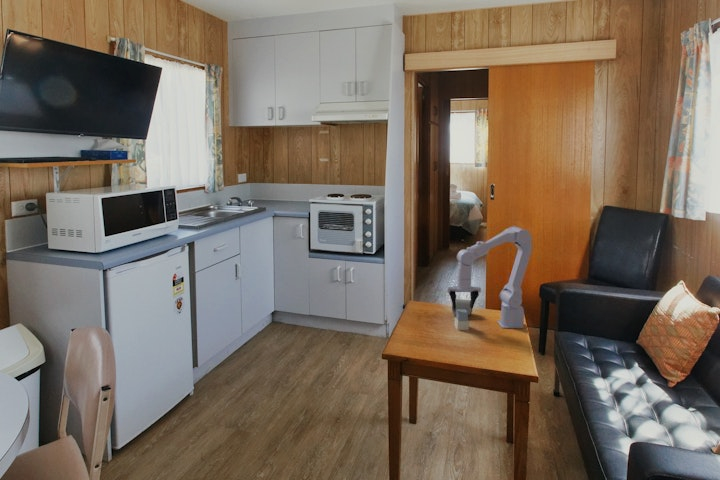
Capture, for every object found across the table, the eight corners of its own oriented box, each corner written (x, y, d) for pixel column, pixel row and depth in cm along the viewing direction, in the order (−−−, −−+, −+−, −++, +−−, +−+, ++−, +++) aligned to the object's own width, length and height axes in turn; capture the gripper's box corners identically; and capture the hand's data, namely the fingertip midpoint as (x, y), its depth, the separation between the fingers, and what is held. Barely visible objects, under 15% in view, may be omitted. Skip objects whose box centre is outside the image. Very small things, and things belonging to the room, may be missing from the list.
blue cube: (465, 317, 224) (465, 309, 223) (467, 321, 220) (467, 312, 220) (456, 317, 224) (456, 309, 223) (458, 321, 220) (458, 312, 219)
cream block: (465, 325, 226) (465, 317, 225) (468, 330, 221) (469, 321, 220) (454, 326, 225) (454, 317, 225) (457, 330, 221) (457, 321, 220)
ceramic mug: (472, 317, 236) (473, 301, 235) (455, 317, 235) (456, 301, 234) (466, 310, 246) (466, 294, 245) (449, 310, 246) (450, 295, 244)
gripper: (478, 275, 223) (476, 304, 226) (445, 275, 222) (444, 304, 225) (483, 279, 216) (481, 310, 219) (449, 279, 215) (447, 310, 218)
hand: (462, 307), depth 221 cm, fingers open, 7 cm apart
